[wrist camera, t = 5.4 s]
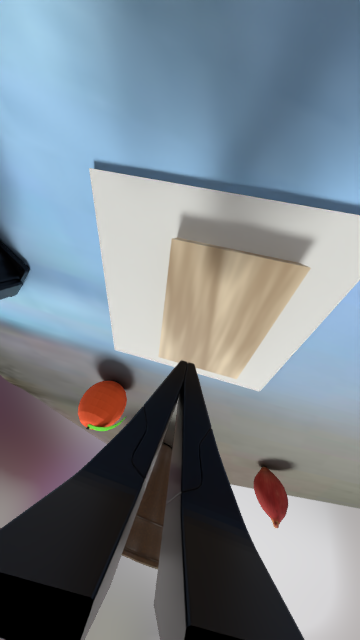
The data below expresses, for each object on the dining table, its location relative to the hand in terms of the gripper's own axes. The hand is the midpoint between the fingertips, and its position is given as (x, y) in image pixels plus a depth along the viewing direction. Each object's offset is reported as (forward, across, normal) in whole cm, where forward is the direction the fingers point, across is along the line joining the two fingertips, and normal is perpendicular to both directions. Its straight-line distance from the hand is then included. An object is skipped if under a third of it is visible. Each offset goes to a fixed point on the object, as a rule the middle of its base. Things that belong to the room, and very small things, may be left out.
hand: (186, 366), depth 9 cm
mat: (+7, 0, 0) cm, 7 cm away
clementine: (+7, +10, +19) cm, 23 cm away
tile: (+6, +3, 0) cm, 7 cm away
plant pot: (+7, +1, +47) cm, 47 cm away
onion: (+7, -24, +35) cm, 43 cm away
